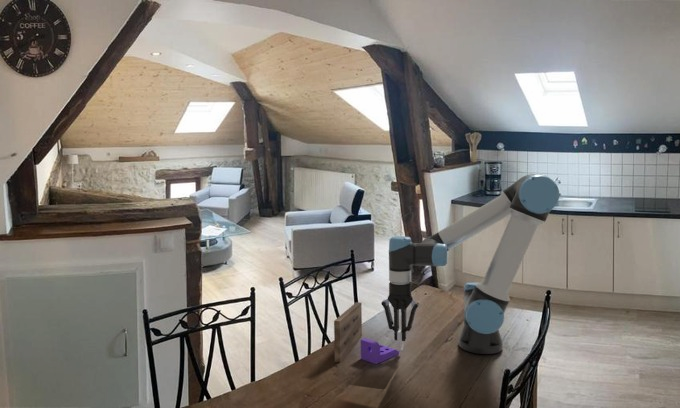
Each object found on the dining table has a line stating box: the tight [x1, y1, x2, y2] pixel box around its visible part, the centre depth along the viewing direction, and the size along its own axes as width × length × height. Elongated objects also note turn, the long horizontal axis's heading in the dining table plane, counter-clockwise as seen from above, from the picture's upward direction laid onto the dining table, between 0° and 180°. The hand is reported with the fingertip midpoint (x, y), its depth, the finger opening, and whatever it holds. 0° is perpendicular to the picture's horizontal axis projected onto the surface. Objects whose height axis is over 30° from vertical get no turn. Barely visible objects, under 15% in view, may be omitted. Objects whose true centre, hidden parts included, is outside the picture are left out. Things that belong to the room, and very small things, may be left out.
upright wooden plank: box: [333, 301, 363, 363], centre depth 177 cm, size 2×24×14 cm, turn 160°
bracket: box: [360, 337, 400, 365], centre depth 170 cm, size 12×7×7 cm, turn 135°
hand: (400, 349), depth 171 cm, fingers closed
